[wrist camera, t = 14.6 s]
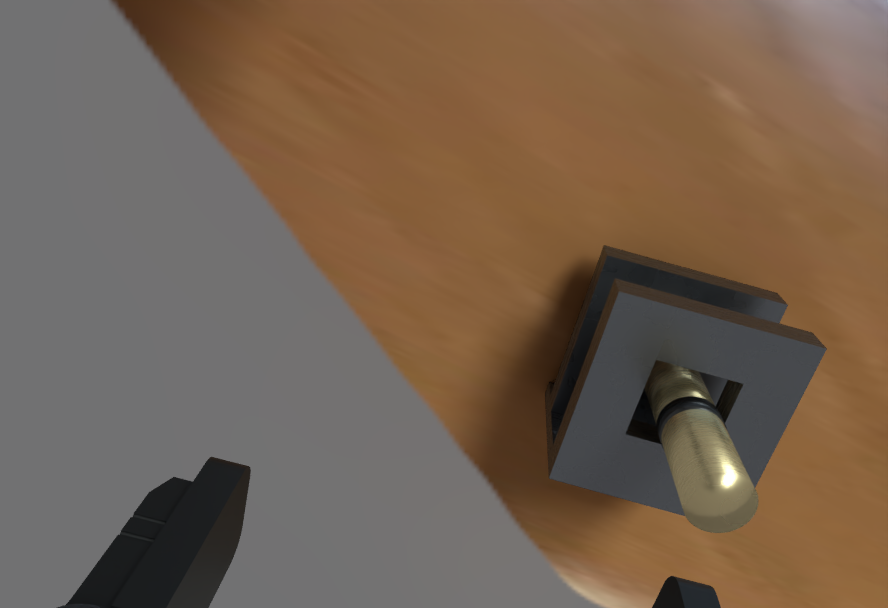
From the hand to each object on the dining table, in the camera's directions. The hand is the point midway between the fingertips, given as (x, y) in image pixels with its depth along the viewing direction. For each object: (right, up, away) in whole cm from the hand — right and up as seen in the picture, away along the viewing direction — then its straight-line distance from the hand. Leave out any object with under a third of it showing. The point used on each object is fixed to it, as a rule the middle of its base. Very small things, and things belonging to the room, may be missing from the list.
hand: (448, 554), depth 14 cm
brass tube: (+14, +3, +35) cm, 38 cm away
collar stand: (+14, +3, +35) cm, 38 cm away
